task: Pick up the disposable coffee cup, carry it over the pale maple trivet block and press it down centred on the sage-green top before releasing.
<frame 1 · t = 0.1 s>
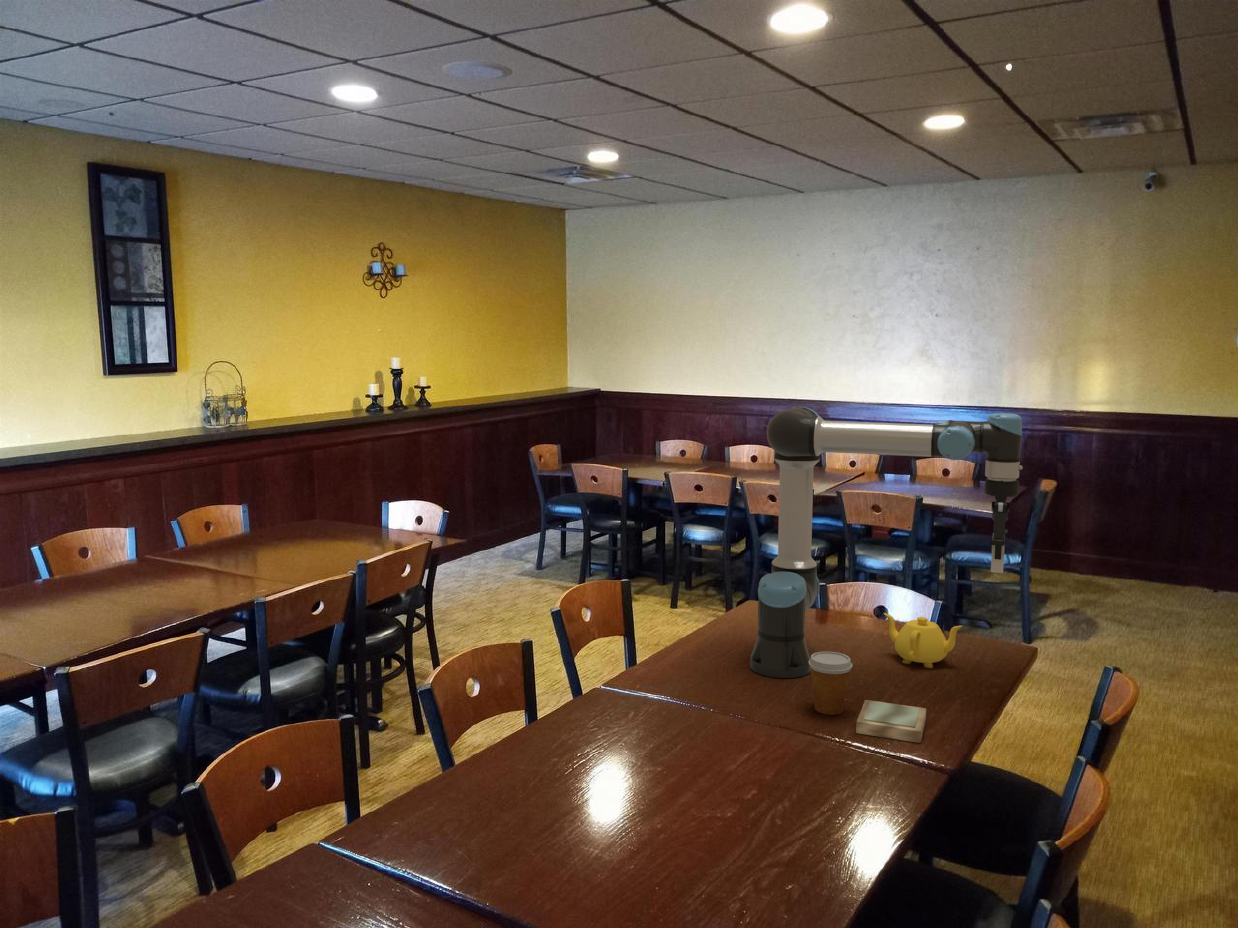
hand: (997, 565, 225), 28 cm above the table, fingers open, 13 cm apart
disposable coffee cup: (828, 710, 209), on the table
teapot: (919, 662, 240), on the table
trivet: (891, 725, 200), on the table
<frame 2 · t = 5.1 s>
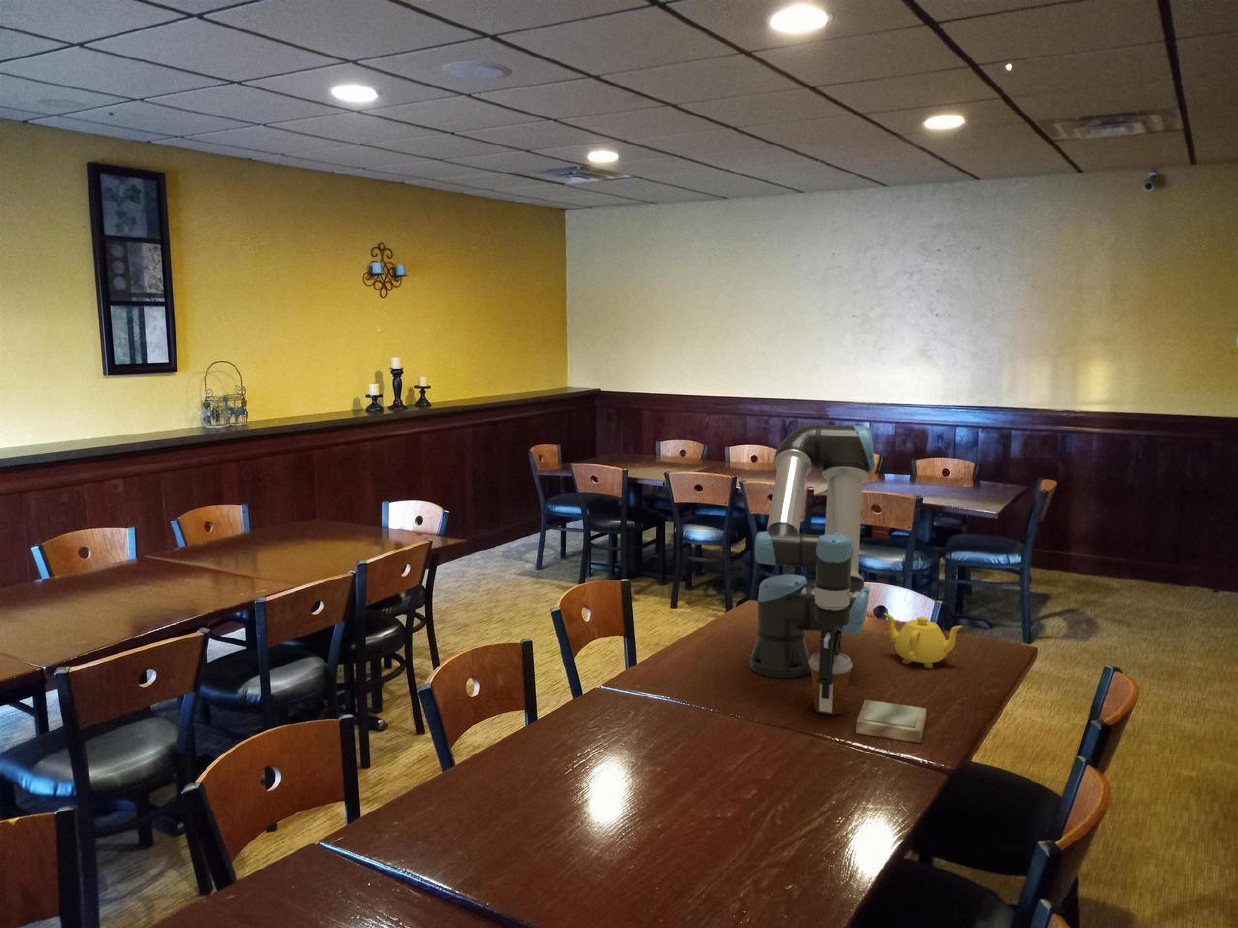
hand: (829, 703, 209), 1 cm above the table, fingers closed on disposable coffee cup, 8 cm apart
disposable coffee cup: (828, 710, 209), on the table, touching gripper
everything else where it was.
when the fingers open (5 cm above the table, at t = 8.9 s): disposable coffee cup stays where it is, resting on trivet.
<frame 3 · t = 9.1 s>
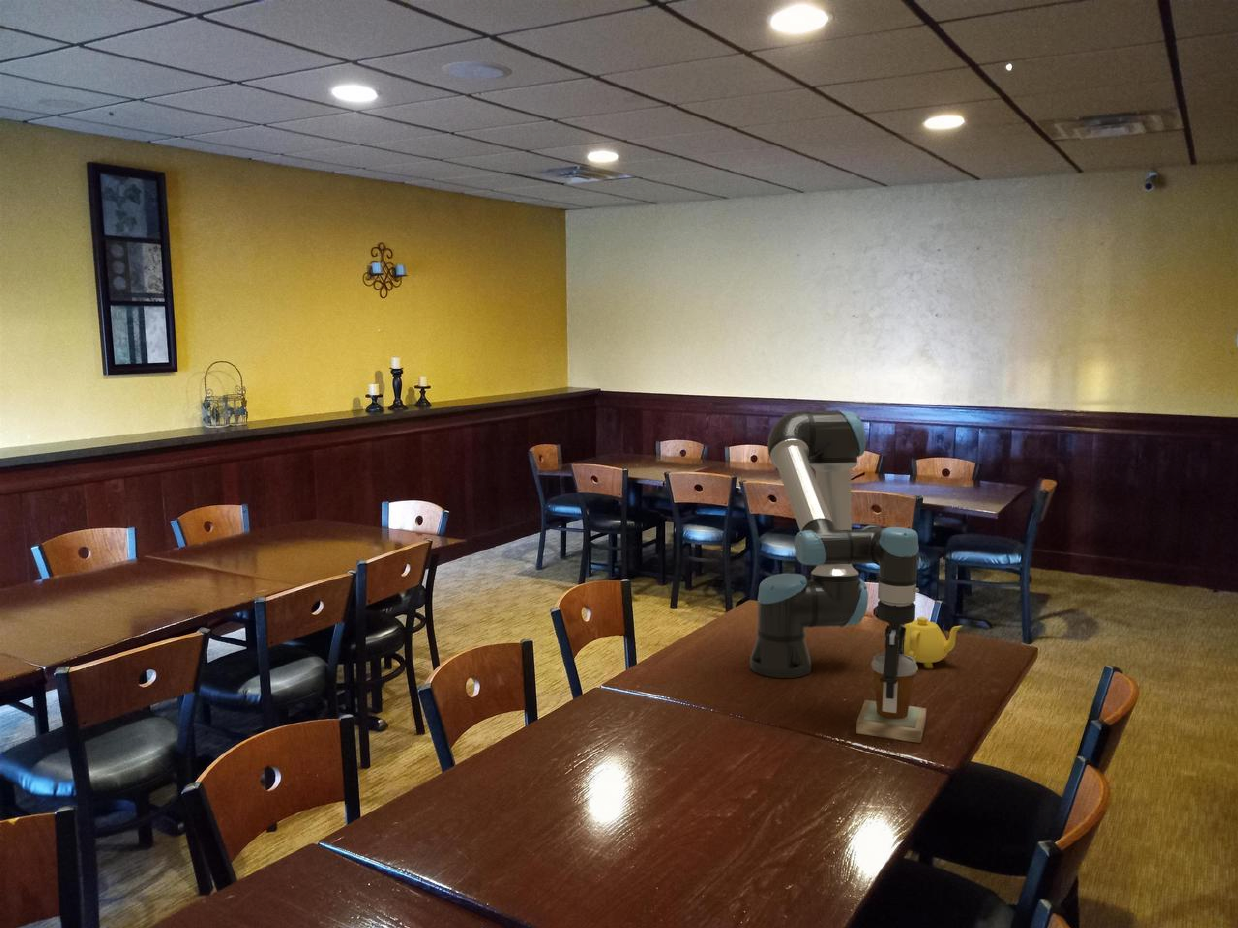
hand: (892, 701, 200), 5 cm above the table, fingers open, 10 cm apart
disposable coffee cup: (892, 714, 200), point 3 cm above the table, touching trivet
everything else where it was.
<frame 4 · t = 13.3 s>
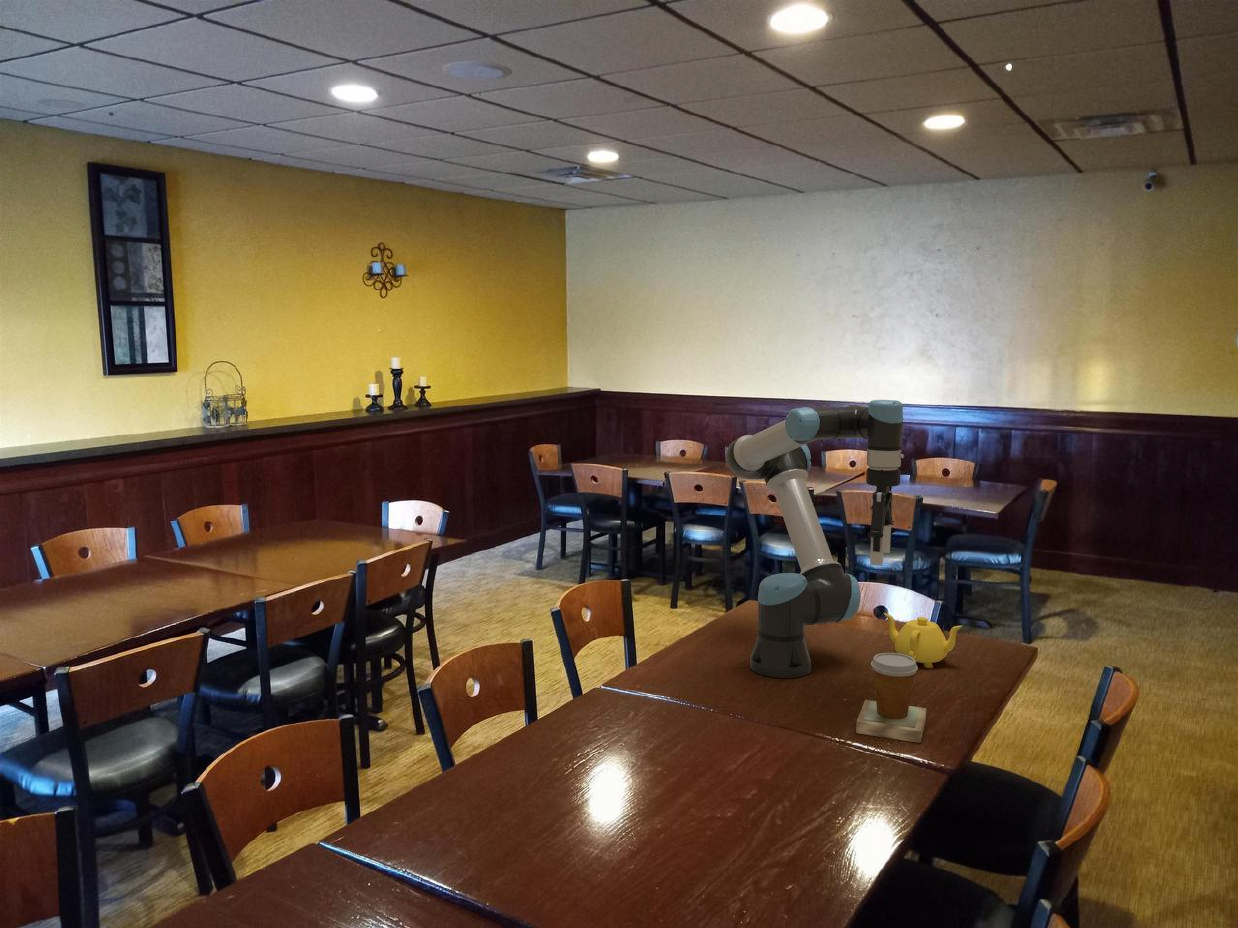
hand: (880, 558, 217), 32 cm above the table, fingers open, 13 cm apart
nothing on the table moved.
at the end: disposable coffee cup 0.1 cm from the trivet (horizontally); disposable coffee cup point 2.6 cm above the table; disposable coffee cup tilted 0° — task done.
